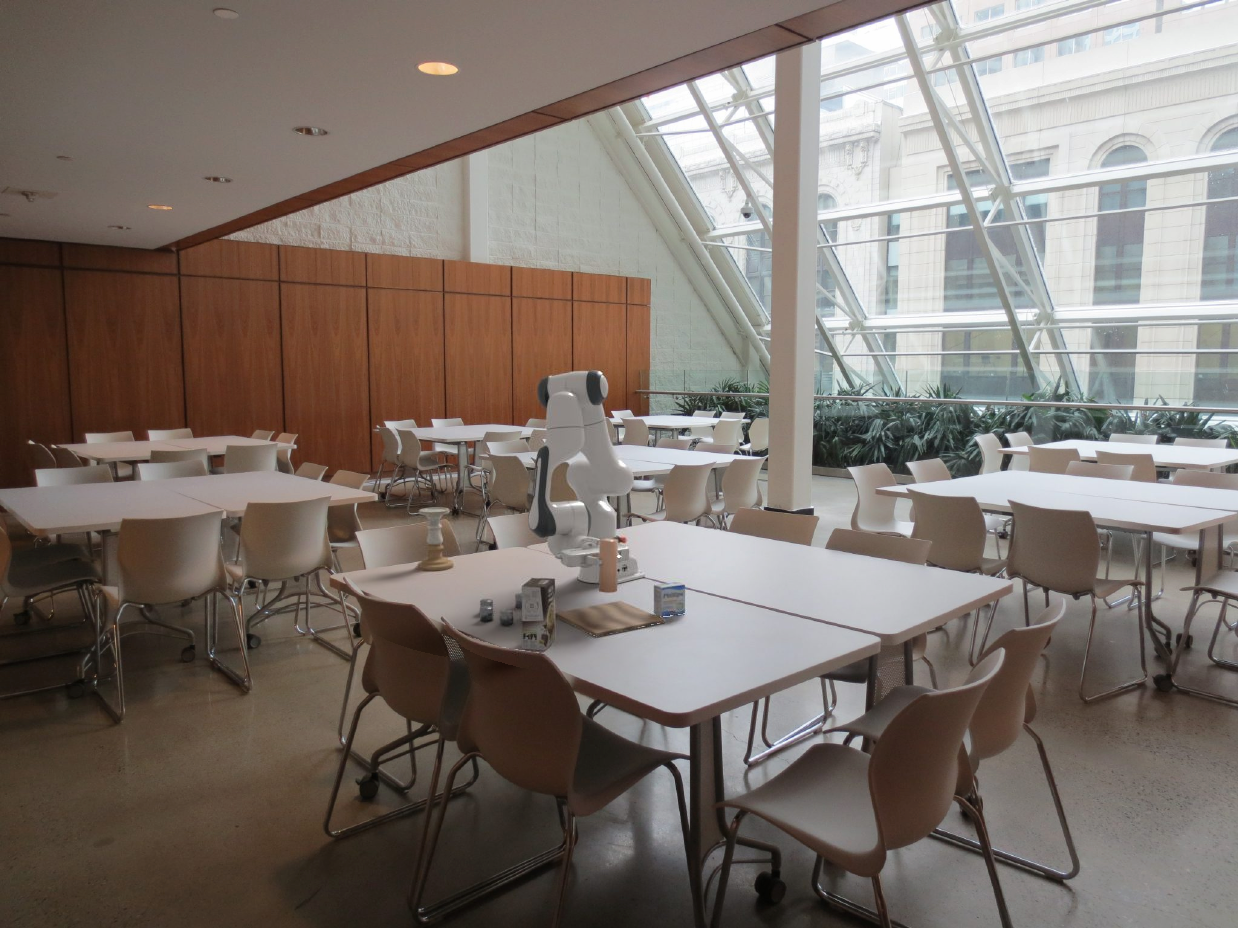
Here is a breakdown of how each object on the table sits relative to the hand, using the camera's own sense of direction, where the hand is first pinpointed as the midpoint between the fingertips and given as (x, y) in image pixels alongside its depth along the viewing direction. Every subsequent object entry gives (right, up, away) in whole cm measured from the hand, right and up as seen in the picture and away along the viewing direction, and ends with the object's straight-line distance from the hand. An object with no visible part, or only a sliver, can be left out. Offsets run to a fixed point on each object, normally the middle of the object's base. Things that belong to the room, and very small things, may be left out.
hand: (610, 560), depth 232 cm
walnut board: (0, -17, +3) cm, 17 cm away
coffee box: (-18, -19, -18) cm, 32 cm away
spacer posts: (-27, -16, +7) cm, 32 cm away
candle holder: (-61, -10, +64) cm, 89 cm away
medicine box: (+17, -16, +8) cm, 25 cm away
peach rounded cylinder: (-1, -8, +2) cm, 8 cm away
